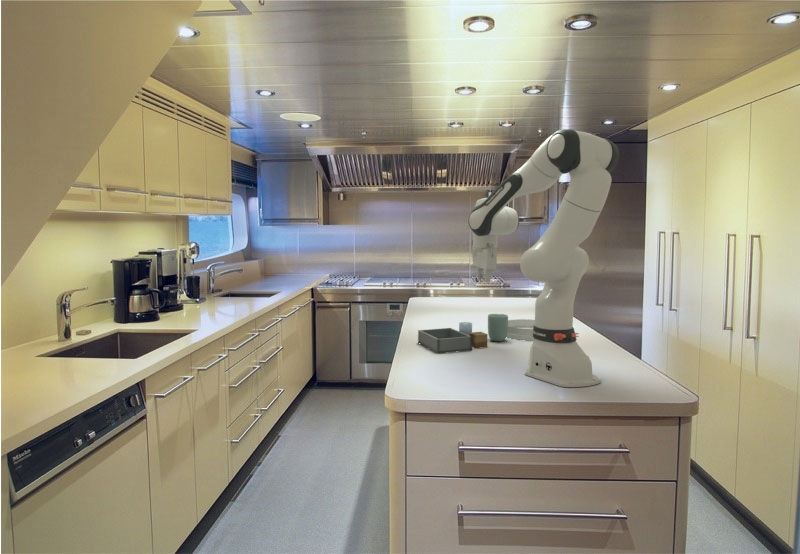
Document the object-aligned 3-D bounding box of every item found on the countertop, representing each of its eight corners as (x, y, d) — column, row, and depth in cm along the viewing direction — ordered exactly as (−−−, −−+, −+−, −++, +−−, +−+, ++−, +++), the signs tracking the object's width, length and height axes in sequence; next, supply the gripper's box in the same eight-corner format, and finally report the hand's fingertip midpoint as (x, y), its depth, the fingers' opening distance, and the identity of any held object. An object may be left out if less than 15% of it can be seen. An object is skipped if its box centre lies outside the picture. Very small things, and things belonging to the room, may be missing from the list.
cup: (506, 338, 209) (507, 313, 208) (508, 343, 201) (509, 317, 200) (486, 338, 210) (487, 313, 209) (488, 342, 202) (488, 316, 201)
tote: (471, 350, 189) (472, 336, 189) (437, 353, 185) (437, 339, 184) (450, 340, 206) (450, 327, 205) (418, 343, 201) (418, 330, 200)
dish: (563, 342, 204) (563, 329, 203) (506, 341, 204) (506, 329, 204) (548, 330, 226) (548, 319, 225) (497, 330, 226) (497, 319, 226)
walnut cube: (487, 347, 194) (487, 334, 194) (475, 348, 192) (475, 335, 192) (480, 344, 199) (480, 331, 198) (468, 345, 197) (469, 332, 197)
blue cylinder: (474, 341, 203) (474, 323, 203) (462, 342, 202) (462, 324, 201) (468, 339, 208) (468, 321, 207) (456, 340, 206) (456, 322, 206)
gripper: (502, 244, 181) (500, 284, 182) (486, 241, 201) (484, 277, 203) (484, 244, 180) (482, 284, 182) (470, 241, 200) (468, 277, 202)
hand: (483, 280), depth 192 cm, fingers open, 8 cm apart
